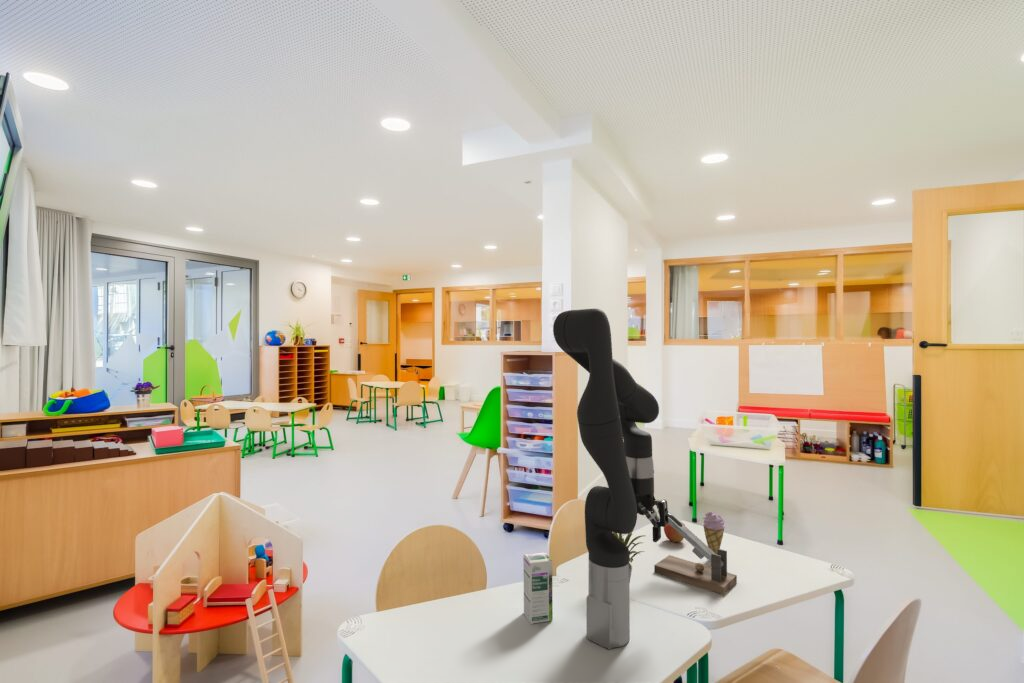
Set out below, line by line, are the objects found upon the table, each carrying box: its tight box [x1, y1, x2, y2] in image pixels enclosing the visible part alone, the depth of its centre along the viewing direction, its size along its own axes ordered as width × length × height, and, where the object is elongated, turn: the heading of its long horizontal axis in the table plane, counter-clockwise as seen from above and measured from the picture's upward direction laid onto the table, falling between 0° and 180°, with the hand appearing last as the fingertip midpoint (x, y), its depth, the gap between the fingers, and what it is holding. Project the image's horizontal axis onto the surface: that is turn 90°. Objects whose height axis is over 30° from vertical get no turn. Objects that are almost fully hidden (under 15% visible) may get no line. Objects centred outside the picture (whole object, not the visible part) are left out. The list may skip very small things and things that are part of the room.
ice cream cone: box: [702, 510, 726, 554], centre depth 153 cm, size 7×6×15 cm
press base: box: [653, 548, 738, 596], centre depth 140 cm, size 10×20×9 cm, turn 47°
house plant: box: [613, 528, 645, 585], centre depth 132 cm, size 14×14×16 cm
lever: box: [657, 509, 725, 567], centre depth 141 cm, size 3×22×4 cm
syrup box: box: [522, 551, 554, 625], centre depth 118 cm, size 6×6×14 cm
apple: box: [663, 521, 686, 543], centre depth 167 cm, size 7×7×8 cm
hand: (639, 536), depth 122 cm, fingers open, 8 cm apart
